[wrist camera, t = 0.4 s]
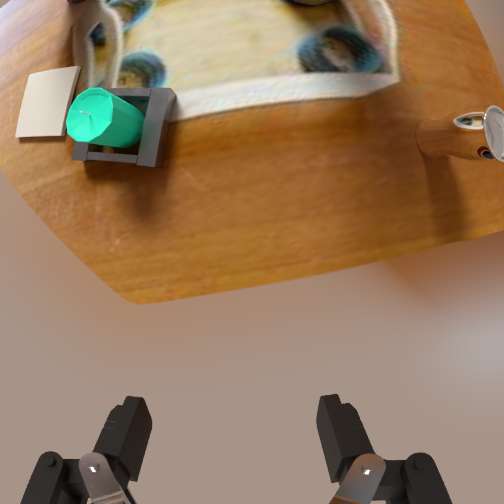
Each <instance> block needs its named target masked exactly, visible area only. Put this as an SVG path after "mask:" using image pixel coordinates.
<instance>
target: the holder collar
mask: <svg viewBox="0 0 504 504" xmlns="http://www.w3.org/2000/svg"><path fill="white" fill-rule="evenodd" d="M87 89H89V88H86V90H87ZM104 90H106V91H108V92H110V93H111V94H113V95H115V96H117V97H119V98H120V99H122V100H124V101H149V103H148V107H147V112H146V117H145V121H144V126H143V131H142V136H141V142H140V147H139V153H138V155H128V154H115V153H100V152H98V147H99V144H92V143H85V142H78V141H76V140H75V143H74V149H73V156H72V160H80V161H96V160H103V161H115V162H127V163H137V165H140V166H149V167H162V161H163V156H164V150H165V144H166V139H167V134H168V129H169V124H170V119H171V114H172V110H173V105H174V101H175V97H176V94H175V93H174V91H173V90H172V89H171V88H158V87H152V89H144V88H114V89H104Z"/></svg>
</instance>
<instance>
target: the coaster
mask: <svg viewBox="0 0 504 504" xmlns="http://www.w3.org/2000/svg"><path fill="white" fill-rule="evenodd" d="M80 69H81V67H79V66H73V67H66V68H59V69H54V70H48V71H43V72H38V73H33V74H30V75H29V79H28V82H27V86H26V89H25V93H24V97H23V101H22V105H21V110H20V114H19V119H18V124H17V130H16V136H15V137H40V136H65V130H66V120H67V116H68V113H69V109H70V106H71V102H72V98H73V94H74V90H75V86H76V83H77V79H78V76H79V72H80Z"/></svg>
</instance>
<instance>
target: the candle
mask: <svg viewBox="0 0 504 504" xmlns="http://www.w3.org/2000/svg"><path fill="white" fill-rule="evenodd" d="M144 121H145V118H144V115H143V113H142V112H141V111H140V110H139V109H137V108H136V107H134V106H133V105H131V104H129V103H127V102H126V101H124V100H122V99H120V98H119V97H117V96H115V95H113V94H111V93H110V92H108V91H106V90H104V89H102V88H89V89H87V90H85V91H84V92H82V93H81V94H79V95H78V96H77V97H76V99H75V100H74V102H73V104H72V105H71V107H70V109H69V113H68V116H67V120H66V125H67V133H68V134H69V135H70V136H71V137H72V138H73V139H75V140H76V141H78V142H85V143H92V144H99V145H105V146H111V147H118V148H128V147H130V146H132V145H134V144H136V143H137V142H138V141H139V140H140V138H141V136H142V131H143V126H144Z"/></svg>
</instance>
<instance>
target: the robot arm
mask: <svg viewBox="0 0 504 504" xmlns="http://www.w3.org/2000/svg"><path fill="white" fill-rule="evenodd" d="M292 1H295V2H298V3H301V4H306V5H321V4H324V3H327V2H329V1H330V0H292ZM316 423H317V429H318V433H319V437H320V440H321V444H322V448H323V452H324V456H325V459H326V464H327V467H328V471H329V475H330V479H331V482H332V483H335V482H339V485H340V487H339V489H338V491H337V492H336V494H335V496H334V497H333V499H332V500H331V501H330V503H329V504H370V502H371V501H372V500H374V501H376V500H385V501H386V504H452V502H451V499H450V497H449V494H448V492H447V489H446V487H445V485H444V482H443V480H442V478H441V475H440V473H439V471H438V469H437V466H436V464H435V462H434V460H433V458H432V457H431V456H430V455H428V454H426V453H414V454H412V455H410V456H409V457H408V458H407V460H385V459H382V458H381V457H380V456H378V455H376V453H375V452H374V450H373V448H372V446H371V443H370V441H369V439H368V436H367V434H366V431H365V429H364V427H363V424H362V422H361V420H360V417H359V415H358V412H357V410H356V409H355V408H354V407H353V406H352V405H351V404H350V403H345V404H341V401H340V398H339V396H338V394H332V395H325V396H321V397H320V401H319V406H318V412H317V418H316ZM151 430H152V418H151V416H150V413H149V411H148V408H147V405H146V403H145V400H144V399H143V398H142V397H133V396H127V397H126V399H125V401H124V403H123V405H117V406H116V407H115V408H114V409H113V410H111V412H110V414H109V416H108V418H107V421H106V422H105V425H104V428H103V429H102V431H101V433H100V436H99V438H98V440H97V443H96V445H95V447H94V450H93V451H92V452H91V453H87V454H85V455H83V456H82V457H81V459H63V458H62V457H61V456H60V455H59V454H58V453H56V452H52V451H49V452H45V453H44V454H42V455H41V456H40V458H39V460H38V462H37V464H36V466H35V469H34V471H33V473H32V476H31V478H30V480H29V483H28V485H27V488H26V490H25V493H24V495H23V498H22V501H21V504H87V500H88V498H91V500H92V503H91V504H137V502H136V500H135V499H134V497H133V495H132V493H131V492H130V490H129V488H128V482H129V480H130V481H135V482H137V480H138V476H139V473H140V469H141V465H142V462H143V458H144V454H145V451H146V447H147V444H148V440H149V437H150V433H151Z"/></svg>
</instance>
